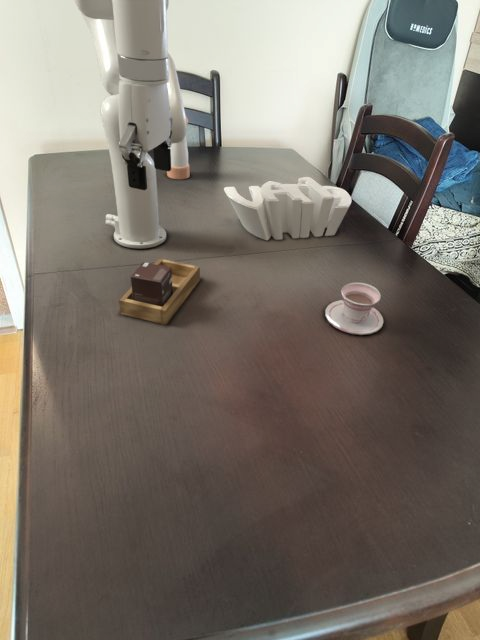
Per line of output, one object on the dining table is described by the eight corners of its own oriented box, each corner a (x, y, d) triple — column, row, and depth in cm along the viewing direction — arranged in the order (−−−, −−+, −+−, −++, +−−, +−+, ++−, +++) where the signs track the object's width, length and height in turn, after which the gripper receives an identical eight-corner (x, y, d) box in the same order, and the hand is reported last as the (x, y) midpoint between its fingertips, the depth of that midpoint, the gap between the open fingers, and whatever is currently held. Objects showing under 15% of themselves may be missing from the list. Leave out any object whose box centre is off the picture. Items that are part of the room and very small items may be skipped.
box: (162, 315, 88) (160, 282, 84) (133, 309, 89) (129, 276, 84) (173, 298, 93) (172, 266, 88) (145, 293, 94) (142, 261, 89)
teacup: (370, 343, 88) (377, 317, 84) (314, 320, 92) (319, 295, 88) (391, 315, 96) (399, 290, 92) (339, 295, 100) (344, 270, 96)
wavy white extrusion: (233, 242, 116) (235, 201, 109) (220, 215, 128) (221, 177, 121) (358, 236, 125) (367, 198, 118) (335, 211, 137) (342, 175, 130)
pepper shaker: (188, 180, 146) (186, 114, 134) (165, 178, 146) (161, 112, 134) (191, 172, 152) (190, 109, 140) (169, 170, 152) (166, 106, 140)
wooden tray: (121, 314, 89) (119, 300, 86) (160, 271, 102) (159, 258, 100) (166, 324, 87) (165, 310, 85) (199, 279, 101) (199, 266, 99)
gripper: (147, 57, 78) (153, 159, 89) (91, 74, 65) (106, 192, 76) (188, 64, 77) (189, 167, 88) (139, 83, 64) (148, 201, 75)
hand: (151, 178), depth 82 cm, fingers open, 9 cm apart
